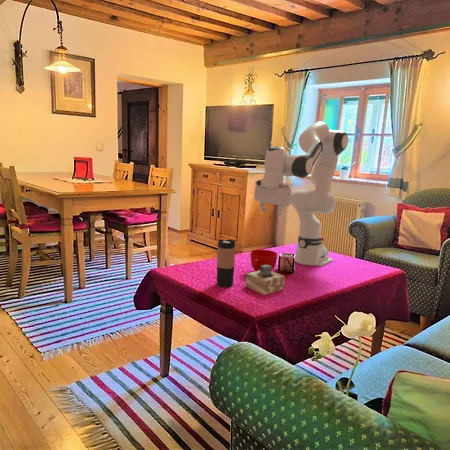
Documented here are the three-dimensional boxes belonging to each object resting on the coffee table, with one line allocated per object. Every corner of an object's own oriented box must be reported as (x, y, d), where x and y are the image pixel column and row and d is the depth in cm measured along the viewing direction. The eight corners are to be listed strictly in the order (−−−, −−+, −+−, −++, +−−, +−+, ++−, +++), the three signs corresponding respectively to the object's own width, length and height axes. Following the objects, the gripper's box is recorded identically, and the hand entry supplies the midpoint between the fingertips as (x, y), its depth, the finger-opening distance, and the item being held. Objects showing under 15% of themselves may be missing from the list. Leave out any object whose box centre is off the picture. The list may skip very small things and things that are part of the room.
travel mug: (227, 288, 174) (229, 244, 170) (212, 285, 178) (214, 241, 174) (236, 284, 180) (238, 240, 176) (222, 280, 184) (223, 238, 180)
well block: (264, 281, 186) (265, 269, 184) (283, 289, 177) (284, 276, 175) (245, 286, 178) (246, 273, 177) (264, 294, 169) (265, 281, 168)
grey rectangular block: (265, 285, 180) (266, 264, 178) (270, 287, 177) (271, 266, 175) (258, 287, 177) (260, 266, 175) (263, 289, 175) (265, 267, 173)
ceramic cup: (241, 275, 192) (242, 255, 190) (255, 267, 207) (256, 248, 205) (266, 280, 186) (268, 260, 184) (279, 271, 201) (280, 252, 199)
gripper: (295, 185, 176) (293, 216, 179) (262, 180, 191) (260, 209, 194) (285, 185, 172) (283, 217, 175) (252, 181, 187) (251, 210, 190)
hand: (271, 213), depth 185 cm, fingers open, 8 cm apart
